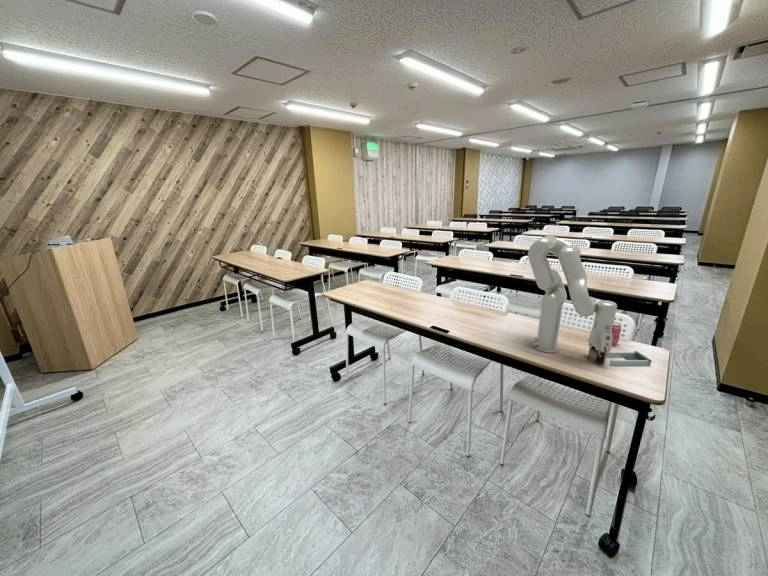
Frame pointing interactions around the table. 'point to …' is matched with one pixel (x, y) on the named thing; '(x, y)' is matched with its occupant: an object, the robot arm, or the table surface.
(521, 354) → the table surface
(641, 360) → the grey open frame
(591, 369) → the table surface
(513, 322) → the table surface
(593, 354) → the walnut block
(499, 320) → the table surface
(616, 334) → the soda can
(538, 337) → the robot arm
